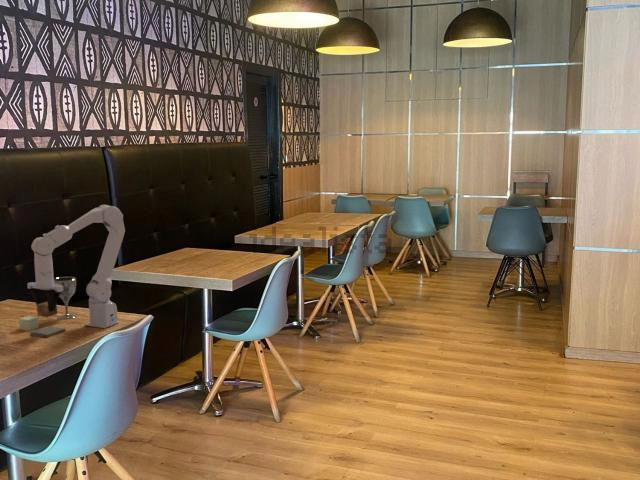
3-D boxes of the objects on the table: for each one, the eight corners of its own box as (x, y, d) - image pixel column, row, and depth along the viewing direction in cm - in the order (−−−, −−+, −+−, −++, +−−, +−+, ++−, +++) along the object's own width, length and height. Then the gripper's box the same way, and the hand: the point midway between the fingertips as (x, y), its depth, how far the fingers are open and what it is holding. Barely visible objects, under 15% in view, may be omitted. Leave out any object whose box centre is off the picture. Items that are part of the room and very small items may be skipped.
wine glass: (51, 319, 240) (48, 280, 237) (64, 313, 247) (61, 276, 245) (70, 320, 238) (67, 281, 236) (82, 314, 246) (80, 277, 243)
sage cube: (39, 327, 229) (38, 316, 228) (29, 330, 225) (28, 320, 224) (29, 326, 230) (29, 315, 230) (19, 329, 226) (19, 318, 226)
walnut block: (57, 313, 222) (56, 302, 221) (47, 317, 218) (46, 305, 217) (47, 312, 224) (46, 301, 223) (37, 315, 219) (36, 304, 219)
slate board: (65, 331, 224) (65, 328, 223) (47, 337, 216) (47, 334, 216) (48, 328, 227) (48, 326, 226) (30, 334, 219) (30, 332, 219)
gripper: (19, 272, 217) (22, 310, 219) (51, 275, 212) (53, 315, 214) (35, 268, 224) (38, 306, 226) (66, 271, 218) (69, 310, 220)
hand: (46, 310), depth 220 cm, fingers closed on walnut block, 4 cm apart
